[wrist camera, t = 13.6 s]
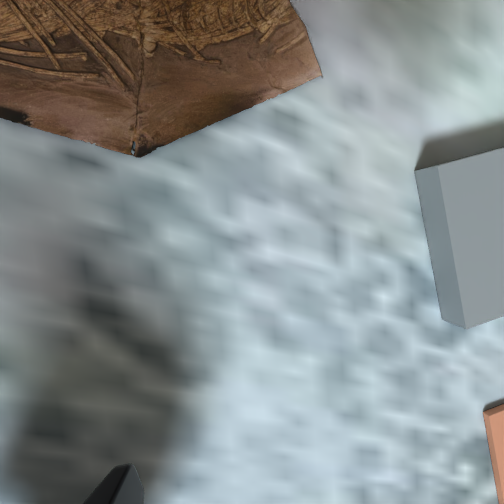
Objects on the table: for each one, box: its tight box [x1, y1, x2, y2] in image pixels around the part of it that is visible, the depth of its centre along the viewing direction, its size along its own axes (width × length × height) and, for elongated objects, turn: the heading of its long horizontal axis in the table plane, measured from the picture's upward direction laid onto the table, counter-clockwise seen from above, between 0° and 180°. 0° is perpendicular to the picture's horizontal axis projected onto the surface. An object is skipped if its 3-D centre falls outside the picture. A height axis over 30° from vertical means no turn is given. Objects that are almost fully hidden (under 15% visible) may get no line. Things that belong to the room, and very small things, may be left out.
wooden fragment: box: [0, 0, 323, 157], centre depth 17 cm, size 26×11×1 cm, turn 89°
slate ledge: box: [415, 147, 504, 329], centre depth 21 cm, size 10×8×2 cm
